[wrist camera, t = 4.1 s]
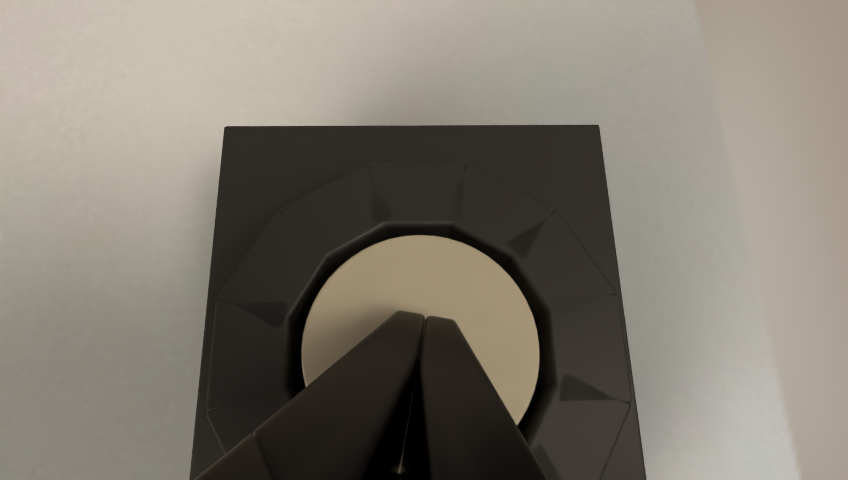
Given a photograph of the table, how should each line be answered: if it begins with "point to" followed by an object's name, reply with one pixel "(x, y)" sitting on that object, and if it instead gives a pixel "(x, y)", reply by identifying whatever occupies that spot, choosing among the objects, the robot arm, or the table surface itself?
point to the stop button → (428, 309)
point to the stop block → (420, 215)
